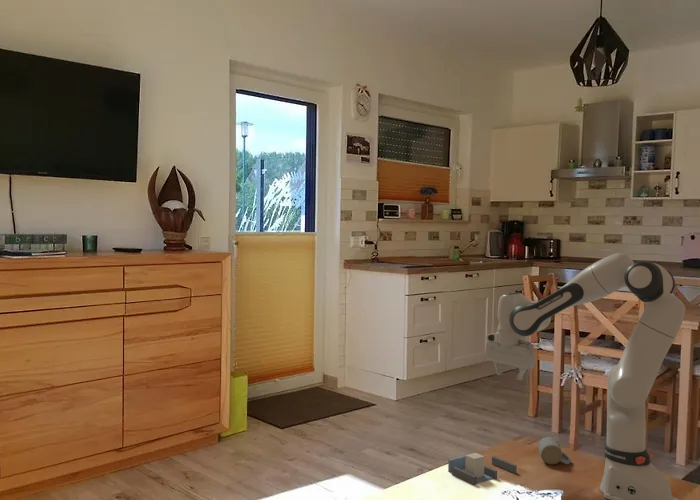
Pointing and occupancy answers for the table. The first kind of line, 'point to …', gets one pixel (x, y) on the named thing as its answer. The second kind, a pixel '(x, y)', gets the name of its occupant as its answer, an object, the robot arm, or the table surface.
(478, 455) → the cord plug
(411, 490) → the table surface
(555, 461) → the ceramic mug
